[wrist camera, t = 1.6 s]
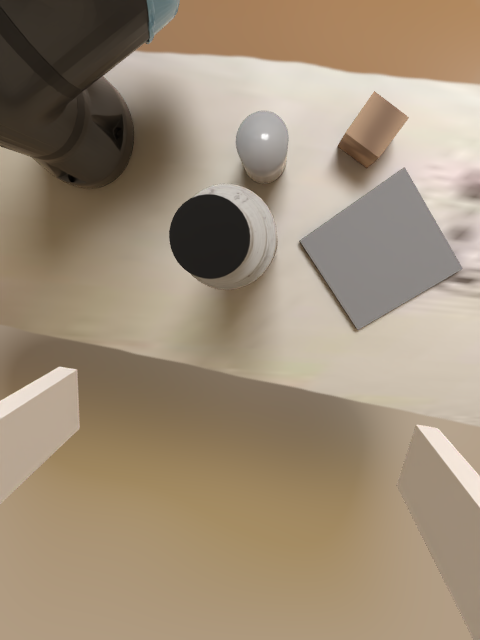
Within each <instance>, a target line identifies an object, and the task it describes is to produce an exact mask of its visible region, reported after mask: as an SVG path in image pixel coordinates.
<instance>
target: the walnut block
mask: <svg viewBox="0 0 480 640" xmlns="http://www.w3.org/2000/svg"><path fill="white" fill-rule="evenodd" d="M408 118H409V117H407V116H406V115H405V114H404V113H402V112H401V111H400V110H398V109H397V108H396V107H394V106H393V105H392V104H390V103H389V102H388V101H386V100H385V99H384V98H383V97H381V96H380V95H379V94H377V93H376V92H375V91H374V93H373V94H372V95H371V97H370V98H369V100H368V101H367V103H366V104H365V105H364V107H363V108H362V110H361V111H360V113H359V114H358V116H357V117H356V118H355V120H354V121H353V123H352V124H351V126H350V127H349V129H348V130H347V131H346V133H345V135H344V136H343V138H342V140H341V141H340V143H339V145H338V147H339V148H340V149H342V150H343V151H344V152H346V153H347V154H348V155H350V156H351V157H352V158H354V159H355V160H356V161H358V162H359V163H360V164H362V165H363V166H364V167H366V168H368V167H369V166H370V165H371V164H372V163H374V162H375V161H376V160H377V159H378V158H379V157H380V156H381V154H382V153H383V152H384V150H385V149H386V148H387V146H388V145H389V144H390V142H391V141H392V140H393V138H394V137H395V136H396V134H397V133H398V132H399V130H400V129H401V128H402V126H403V125H404V124H405V122H406V121H407V120H408Z"/></svg>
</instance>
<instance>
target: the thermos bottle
mask: <svg viewBox="0 0 480 640" xmlns="http://www.w3.org/2000/svg"><path fill="white" fill-rule="evenodd" d="M169 238H170V245H171V249H172V252H173V254H174V256H175V258H176V260H177V261H178V263H179V264H180V265H181V266H182V267H183V268H184V269H185V270H186V271H188V272H189V273H191V275H192V276H193V277H195V278H196V279H197V280H199V281H200V282H201V283H203V284H205V285H207V286H209V287H213V288H216V289H223V290H231V289H238V288H241V287H244V286H247V285H249V284H250V283H252V282H254V281H256V280H257V279H258V278H259V277H260V276H261V275H262V274H263V273H264V272H265V271H266V269H267V268H268V267H269V265H270V263H271V261H272V259H273V257H274V254H275V252H276V249H277V231H276V224H275V221H274V218H273V215H272V213H271V211H270V210H269V208H268V206H267V205H266V204H265V202H264V201H263V200H262V199H261V198H260V197H259V196H258V195H256V194H255V193H254V192H253V191H251V190H249V189H247V188H245V187H242V186H238V185H235V184H219V185H213V186H210V187H208V188H205V189H203V190H202V191H200V192H199V193H197V194H196V195H194V196H193V197H192V198H191V199H189V200H188V201H186V202H185V203H184V204H183V205H182V206H181V207H180V208H179V209H178V210H177V212H176V213H175V215H174V217H173V220H172V222H171V226H170V231H169Z"/></svg>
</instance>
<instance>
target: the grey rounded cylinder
mask: <svg viewBox="0 0 480 640" xmlns="http://www.w3.org/2000/svg"><path fill="white" fill-rule="evenodd" d="M236 148H237V152H238V154H239V157H240V159H241V161H242V164H243V166H244V168H245V171H246V173H247V175H248V176H249V177H250V178H251V179H252V180H253V181H255V182H258V183H262V184H265V183H270V182H273V181H275V180H276V179H277V178H279V176H280V175H281V174H282V173H283V171H284V169H285V166H286V159H287V149H288V131H287V128H286V125H285V123H284V122H283V120H282V119H281V118H280V117H279V116H278V115H276V114H274V113H272V112H269V111H258V112H255V113H253V114H251V115H249V116H248V117H247V118H246V119H245V120H244V121H243V122H242V123H241V125H240V127H239V129H238V132H237V136H236Z"/></svg>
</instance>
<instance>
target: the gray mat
mask: <svg viewBox="0 0 480 640" xmlns="http://www.w3.org/2000/svg"><path fill="white" fill-rule="evenodd" d="M300 243H301V244H302V246H303V247H304V249H305V250H306V252H307V253H308V255H309V256H310V258H311V259H312V261H313V262H314V264H315V266H316V267H317V269H318V270H319V272H320V273H321V275H322V276H323V278H324V279H325V281H326V282H327V284H328V286H329V287H330V289H331V290H332V292H333V293H334V295H335V296H336V298H337V299H338V301H339V302H340V304H341V306H342V307H343V309H344V310H345V312H346V313H347V315H348V316H349V318H350V319H351V321H352V322H353V324H354V325H355V327H356V328H357V329H358V330H359V329H360V328H362V327H364V326H366V325H367V324H369V323H371V322H372V321H374V320H376V319H378V318H379V317H381V316H383V315H384V314H386V313H388V312H390V311H391V310H393V309H395V308H396V307H398V306H400V305H402V304H403V303H405V302H407V301H408V300H410V299H412V298H413V297H415V296H417V295H419V294H420V293H422V292H424V291H425V290H427V289H429V288H431V287H432V286H434V285H436V284H437V283H439V282H441V281H443V280H444V279H446V278H448V277H449V276H451V275H453V274H455V273H456V272H458V271H460V270H461V269H463V268H462V267H461V265H460V263H459V261H458V260H457V258H456V256H455V254H454V253H453V251H452V249H451V247H450V246H449V244H448V242H447V240H446V239H445V237H444V235H443V233H442V232H441V230H440V228H439V226H438V225H437V223H436V221H435V219H434V218H433V216H432V214H431V212H430V211H429V209H428V207H427V206H426V204H425V202H424V200H423V199H422V197H421V195H420V193H419V192H418V190H417V188H416V186H415V185H414V183H413V181H412V179H411V178H410V176H409V174H408V172H407V171H406V169H405V167H404V168H403V169H401V170H400V171H398V172H397V173H396V174H394V175H393V176H391V177H390V178H388V179H387V180H386V181H384V182H383V183H381V184H380V185H378V186H377V187H376V188H374V189H373V190H371V191H370V192H368V193H367V194H366V195H364V196H363V197H361V198H360V199H358V200H357V201H356V202H354V203H353V204H351V205H350V206H349V207H347V208H346V209H344V210H343V211H341V212H340V213H339V214H337V215H336V216H334V217H333V218H331V219H330V220H329V221H327V222H326V223H324V224H323V225H321V226H320V227H319V228H317V229H316V230H314V231H313V232H311V233H310V234H309V235H307V236H306V237H304V238H303V239H301V240H300Z"/></svg>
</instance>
